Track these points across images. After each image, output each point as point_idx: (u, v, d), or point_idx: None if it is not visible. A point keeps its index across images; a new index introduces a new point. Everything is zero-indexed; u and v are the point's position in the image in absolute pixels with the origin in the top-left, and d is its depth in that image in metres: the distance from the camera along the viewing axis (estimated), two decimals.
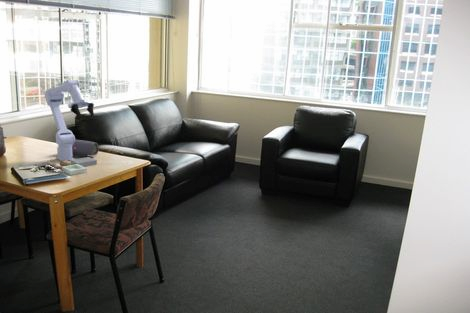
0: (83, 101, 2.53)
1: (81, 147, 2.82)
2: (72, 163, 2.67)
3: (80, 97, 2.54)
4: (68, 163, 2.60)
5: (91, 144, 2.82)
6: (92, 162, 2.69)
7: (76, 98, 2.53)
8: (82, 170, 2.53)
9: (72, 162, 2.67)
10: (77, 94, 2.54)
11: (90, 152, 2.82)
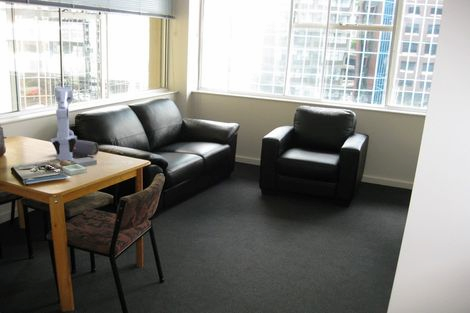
0: None
1: (81, 147, 2.82)
2: (72, 163, 2.67)
3: (66, 134, 2.55)
4: (68, 163, 2.60)
5: (91, 144, 2.82)
6: (92, 162, 2.69)
7: (61, 134, 2.54)
8: (82, 170, 2.53)
9: (72, 162, 2.67)
10: (64, 130, 2.54)
11: (90, 152, 2.82)
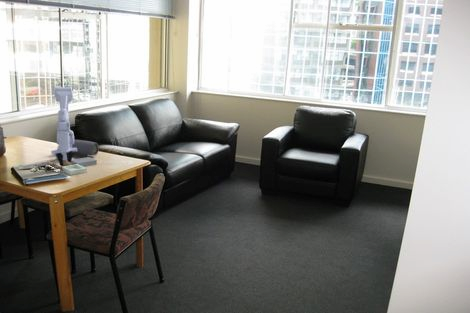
0: None
1: (81, 147, 2.82)
2: (72, 163, 2.67)
3: (66, 146, 2.57)
4: (68, 163, 2.60)
5: (91, 144, 2.82)
6: (92, 162, 2.69)
7: (62, 146, 2.56)
8: (82, 170, 2.53)
9: (72, 162, 2.67)
10: (64, 142, 2.56)
11: (90, 152, 2.82)
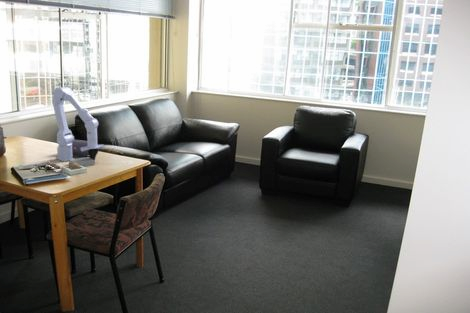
0: None
1: None
2: None
3: (94, 143, 2.69)
4: (78, 166, 2.53)
5: None
6: (90, 162, 2.68)
7: (90, 143, 2.68)
8: (82, 170, 2.53)
9: (70, 162, 2.66)
10: (93, 139, 2.68)
11: None
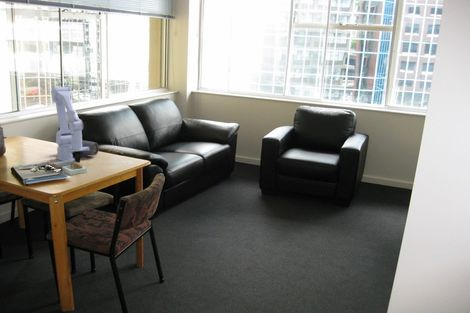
0: None
1: None
2: None
3: (79, 145, 2.62)
4: (80, 166, 2.54)
5: (91, 144, 2.82)
6: None
7: (75, 145, 2.61)
8: (82, 170, 2.53)
9: None
10: (77, 142, 2.61)
11: (90, 152, 2.82)
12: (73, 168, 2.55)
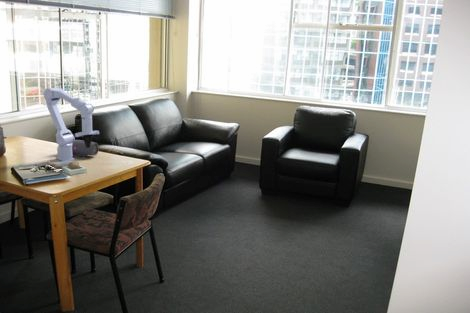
0: (90, 134, 2.66)
1: (81, 147, 2.82)
2: None
3: (89, 129, 2.65)
4: (78, 166, 2.53)
5: (91, 144, 2.82)
6: None
7: (85, 129, 2.64)
8: (82, 170, 2.53)
9: None
10: (87, 125, 2.64)
11: (90, 152, 2.82)
12: (73, 169, 2.55)
